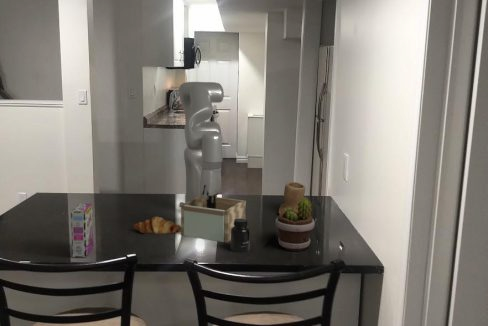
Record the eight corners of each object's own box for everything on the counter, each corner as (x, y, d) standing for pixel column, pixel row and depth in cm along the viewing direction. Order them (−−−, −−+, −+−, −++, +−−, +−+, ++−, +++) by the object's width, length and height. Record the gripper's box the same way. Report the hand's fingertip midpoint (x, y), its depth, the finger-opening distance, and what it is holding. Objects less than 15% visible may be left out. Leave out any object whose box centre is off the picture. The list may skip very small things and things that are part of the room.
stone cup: (303, 219, 211) (304, 186, 208) (276, 217, 213) (277, 185, 211) (305, 210, 225) (306, 179, 223) (280, 208, 228) (281, 178, 225)
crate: (201, 225, 199) (201, 195, 197) (245, 232, 191) (245, 200, 189) (181, 237, 184) (181, 204, 181) (227, 245, 176) (228, 211, 174)
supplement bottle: (247, 256, 165) (248, 223, 163) (228, 254, 167) (228, 222, 164) (251, 249, 172) (251, 218, 170) (232, 248, 173) (233, 216, 171)
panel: (185, 234, 183) (185, 204, 181) (224, 241, 177) (224, 210, 175) (183, 235, 182) (183, 205, 180) (223, 242, 176) (223, 211, 174)
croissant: (185, 240, 191) (188, 221, 193) (180, 236, 181) (183, 216, 184) (135, 236, 194) (139, 217, 196) (127, 232, 184) (131, 212, 187)
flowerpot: (274, 253, 169) (276, 199, 165) (274, 239, 184) (275, 189, 180) (315, 254, 168) (318, 200, 164) (311, 240, 183) (313, 190, 180)
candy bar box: (87, 257, 161) (85, 211, 158) (72, 258, 161) (69, 211, 158) (94, 246, 172) (92, 203, 169) (80, 246, 172) (78, 203, 169)
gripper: (211, 161, 188) (211, 206, 192) (193, 167, 175) (193, 215, 178) (228, 163, 186) (228, 208, 189) (211, 169, 172) (211, 218, 175)
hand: (211, 211), depth 183 cm, fingers closed
